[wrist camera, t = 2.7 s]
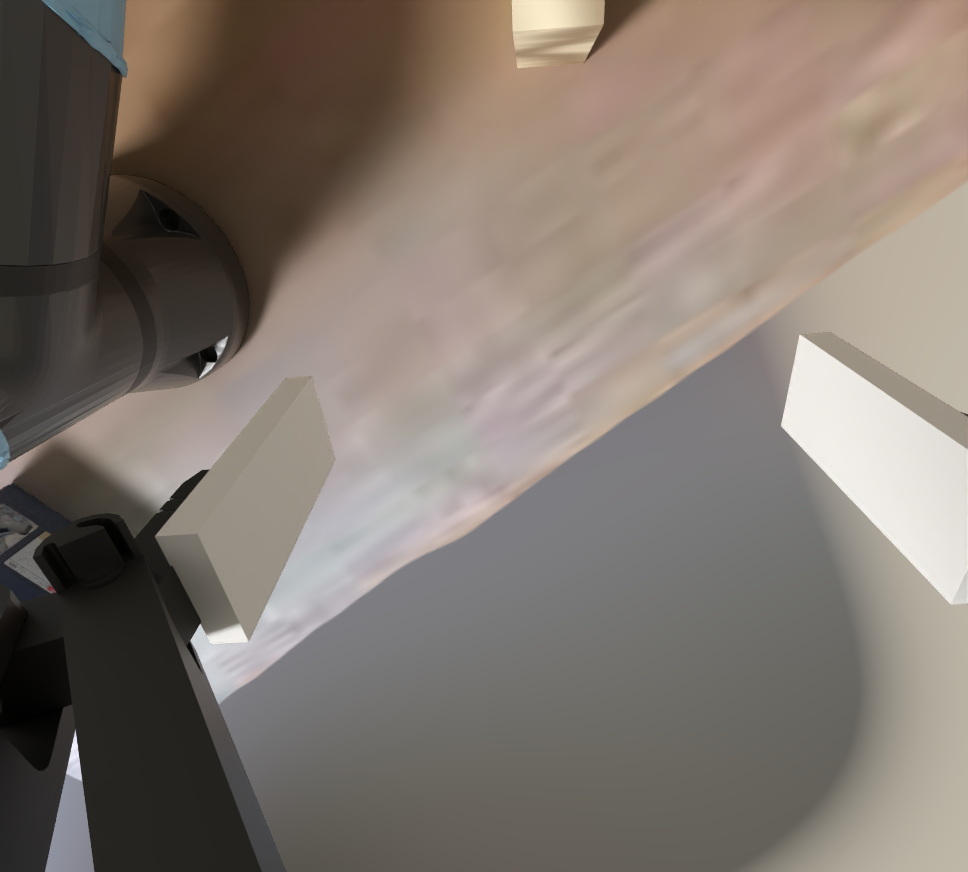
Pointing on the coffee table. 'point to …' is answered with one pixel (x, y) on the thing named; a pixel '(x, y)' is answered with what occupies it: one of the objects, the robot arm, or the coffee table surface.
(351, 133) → the coffee table surface
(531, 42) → the birch block
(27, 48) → the robot arm
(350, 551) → the coffee table surface
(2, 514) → the vhs cassette tape
